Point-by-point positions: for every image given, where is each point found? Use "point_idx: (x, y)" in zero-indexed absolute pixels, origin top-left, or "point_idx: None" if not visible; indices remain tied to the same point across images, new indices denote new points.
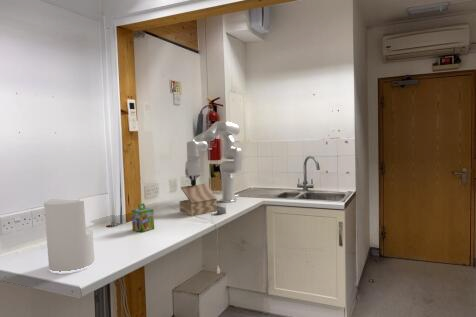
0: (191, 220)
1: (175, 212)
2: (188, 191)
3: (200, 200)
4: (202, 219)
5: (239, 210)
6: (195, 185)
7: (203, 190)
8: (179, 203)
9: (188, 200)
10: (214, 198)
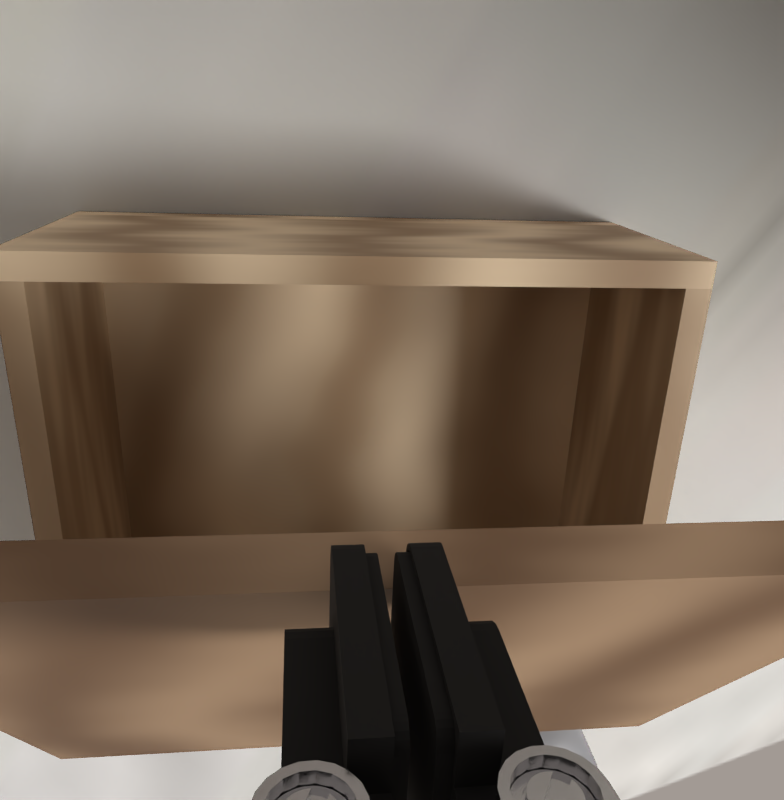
0: (4, 753)
1: (7, 137)
2: (59, 679)
3: (273, 743)
4: (143, 791)
5: (747, 724)
6: (477, 596)
7: (563, 671)
8: (12, 241)
9: (255, 281)
10: (593, 727)
